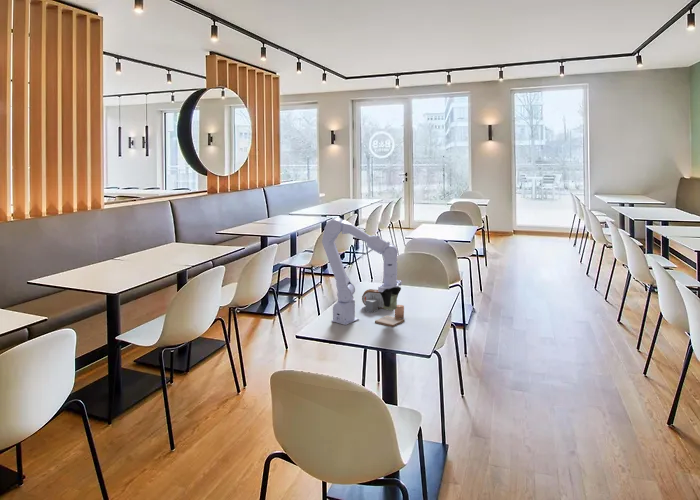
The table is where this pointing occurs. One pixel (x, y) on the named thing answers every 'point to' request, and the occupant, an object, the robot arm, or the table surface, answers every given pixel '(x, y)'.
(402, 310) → the peach rounded capsule
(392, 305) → the green block
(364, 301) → the tin
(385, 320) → the walnut board
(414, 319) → the table surface
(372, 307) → the grey block
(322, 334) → the table surface
